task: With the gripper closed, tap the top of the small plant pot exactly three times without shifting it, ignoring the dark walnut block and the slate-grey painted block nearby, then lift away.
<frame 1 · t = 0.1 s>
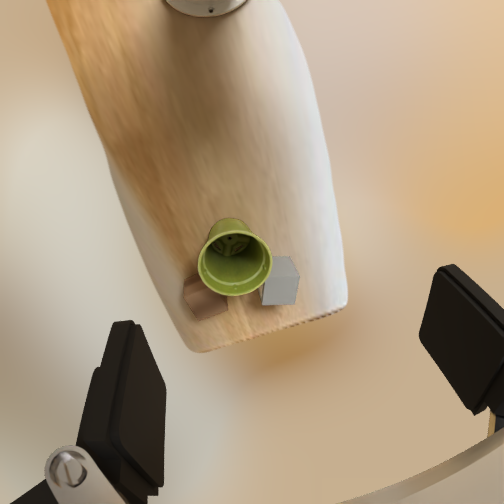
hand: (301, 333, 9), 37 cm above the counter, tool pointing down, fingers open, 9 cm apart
walnut block: (205, 285, 52), on the counter
plant pot: (230, 235, 48), on the counter
slate block: (272, 269, 52), on the counter
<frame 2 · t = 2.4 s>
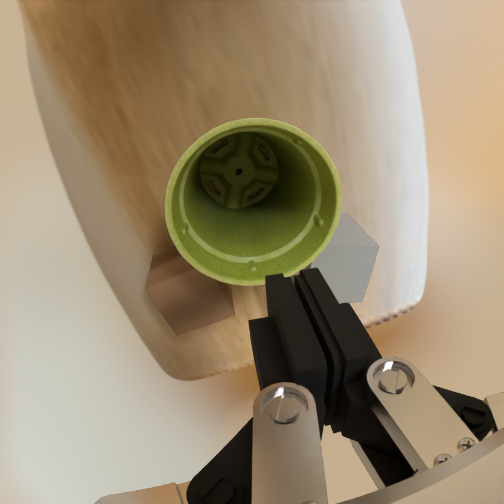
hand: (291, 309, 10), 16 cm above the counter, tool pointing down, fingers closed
walnut block: (192, 267, 28), on the counter
plant pot: (239, 168, 24), on the counter
slate block: (316, 239, 28), on the counter
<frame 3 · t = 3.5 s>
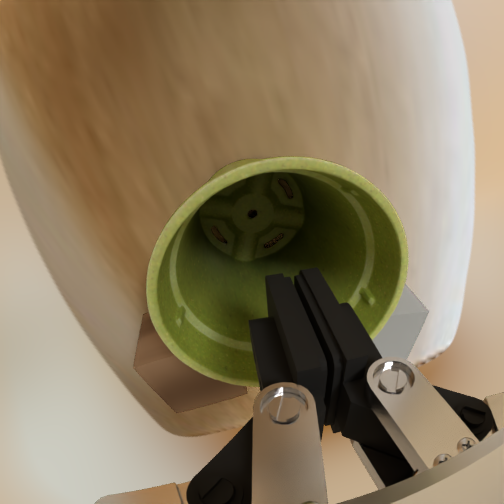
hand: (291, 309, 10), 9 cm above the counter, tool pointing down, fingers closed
walnut block: (192, 327, 22), on the counter
plant pot: (252, 208, 19), on the counter
slate block: (345, 291, 22), on the counter
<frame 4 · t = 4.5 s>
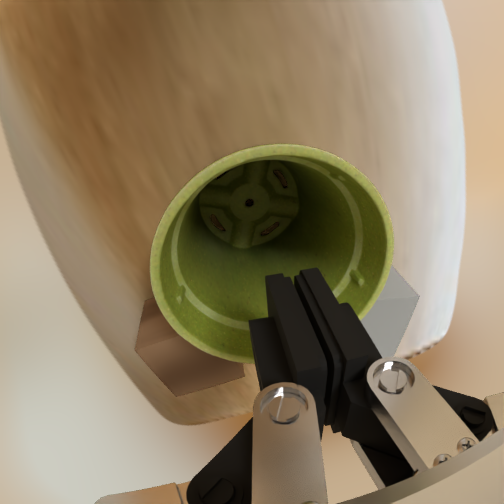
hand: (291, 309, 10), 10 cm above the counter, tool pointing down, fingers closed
walnut block: (191, 314, 23), on the counter
plant pot: (249, 197, 19), on the counter
slate block: (339, 279, 23), on the counter
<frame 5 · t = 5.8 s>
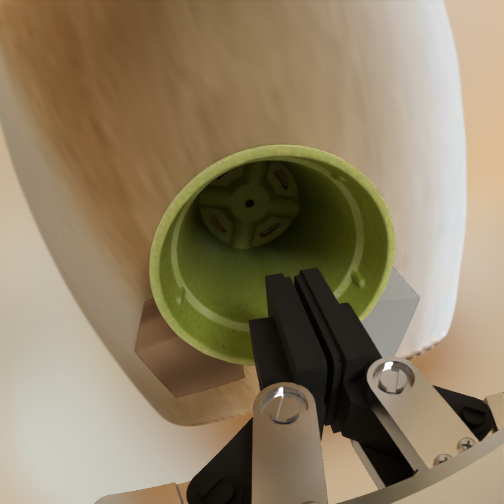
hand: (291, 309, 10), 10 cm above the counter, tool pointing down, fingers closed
walnut block: (191, 315, 23), on the counter
plant pot: (249, 198, 19), on the counter
slate block: (340, 280, 23), on the counter
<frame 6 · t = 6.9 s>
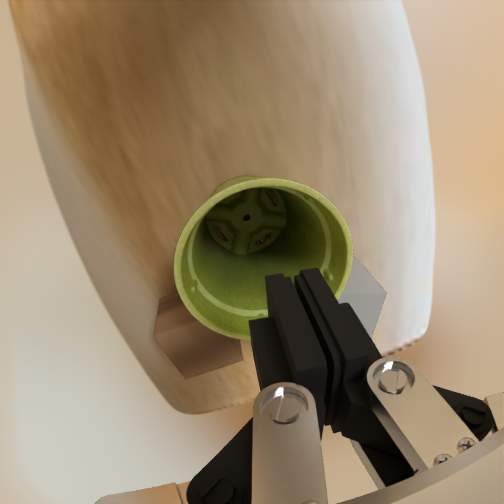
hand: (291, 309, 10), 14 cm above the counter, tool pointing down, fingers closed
walnut block: (199, 310, 27), on the counter
plant pot: (246, 213, 24), on the counter
slate block: (323, 281, 28), on the counter
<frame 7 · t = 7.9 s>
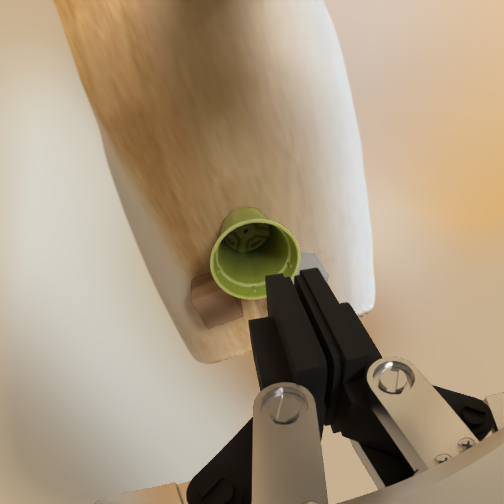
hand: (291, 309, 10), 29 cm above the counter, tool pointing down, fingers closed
walnut block: (216, 287, 44), on the counter
plant pot: (245, 228, 41), on the counter
slate block: (294, 268, 45), on the counter
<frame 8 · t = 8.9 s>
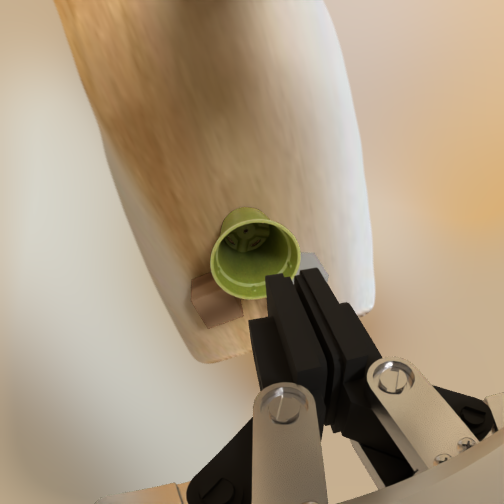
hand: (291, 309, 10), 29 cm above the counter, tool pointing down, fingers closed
walnut block: (216, 286, 44), on the counter
plant pot: (245, 228, 41), on the counter
slate block: (294, 268, 45), on the counter
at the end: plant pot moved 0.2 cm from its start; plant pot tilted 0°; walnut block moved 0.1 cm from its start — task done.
